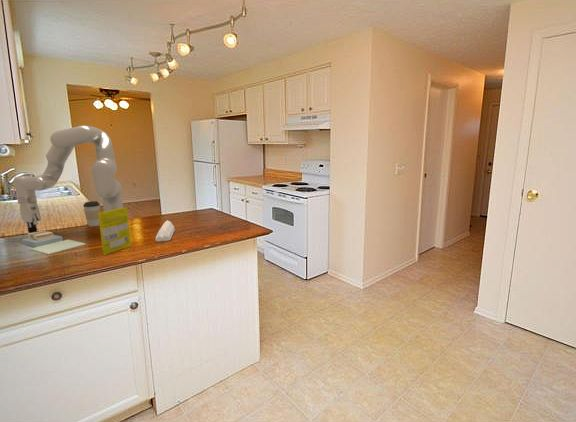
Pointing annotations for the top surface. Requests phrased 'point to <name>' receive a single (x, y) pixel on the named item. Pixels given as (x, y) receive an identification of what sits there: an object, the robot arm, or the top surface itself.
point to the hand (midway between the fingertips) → (33, 234)
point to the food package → (114, 230)
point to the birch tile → (40, 235)
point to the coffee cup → (92, 212)
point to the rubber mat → (58, 246)
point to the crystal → (165, 232)
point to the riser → (41, 241)
